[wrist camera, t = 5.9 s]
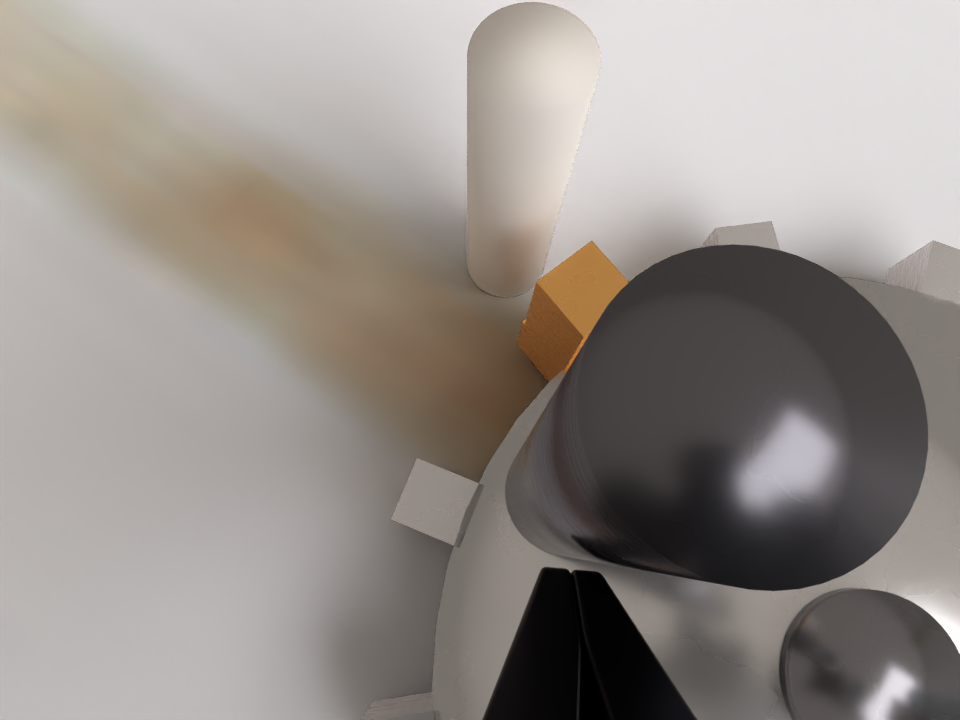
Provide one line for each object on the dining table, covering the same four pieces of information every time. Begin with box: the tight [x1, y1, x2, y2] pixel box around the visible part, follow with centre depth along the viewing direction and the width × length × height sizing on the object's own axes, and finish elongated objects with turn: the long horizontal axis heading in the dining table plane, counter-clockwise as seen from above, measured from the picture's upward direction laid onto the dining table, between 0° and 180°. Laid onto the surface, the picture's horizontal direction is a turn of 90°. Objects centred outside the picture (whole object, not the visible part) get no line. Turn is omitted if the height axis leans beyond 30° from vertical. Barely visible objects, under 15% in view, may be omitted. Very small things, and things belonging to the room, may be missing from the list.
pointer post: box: [467, 2, 601, 297], centre depth 16 cm, size 2×2×9 cm
